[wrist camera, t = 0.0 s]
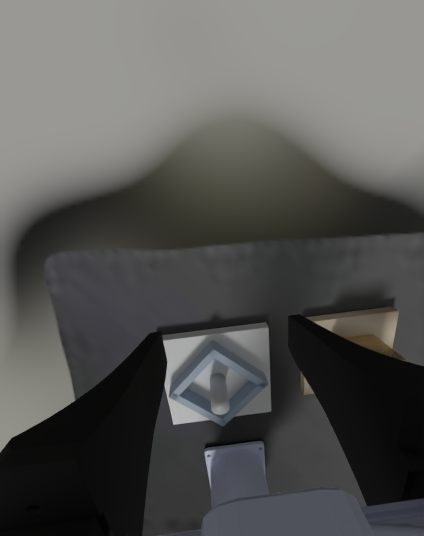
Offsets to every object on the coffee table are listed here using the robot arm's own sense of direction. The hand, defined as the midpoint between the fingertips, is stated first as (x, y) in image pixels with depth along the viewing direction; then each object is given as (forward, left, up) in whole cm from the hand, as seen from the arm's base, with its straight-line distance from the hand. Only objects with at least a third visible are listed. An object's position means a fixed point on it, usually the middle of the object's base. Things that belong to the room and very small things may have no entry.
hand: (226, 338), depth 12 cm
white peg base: (-12, +1, -10) cm, 16 cm away
